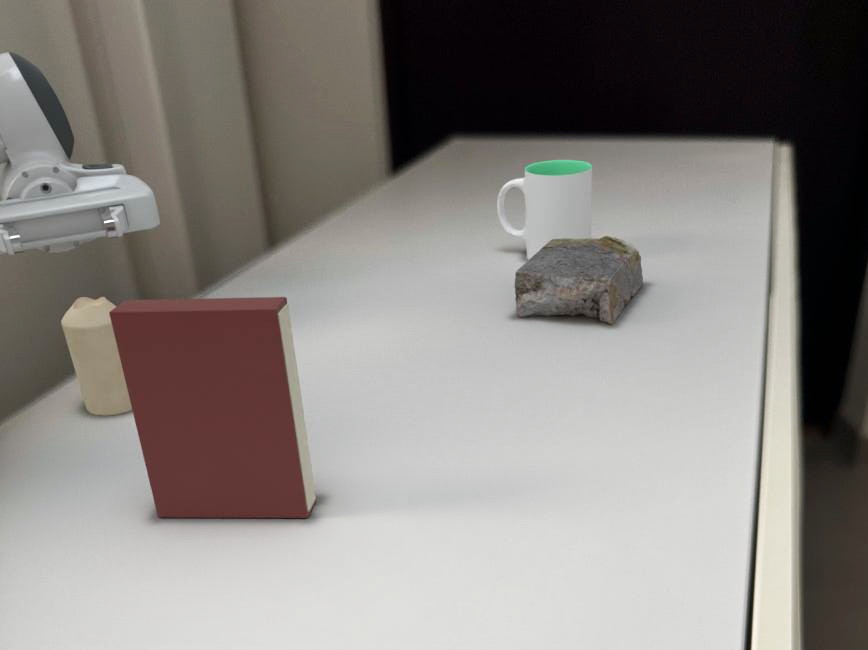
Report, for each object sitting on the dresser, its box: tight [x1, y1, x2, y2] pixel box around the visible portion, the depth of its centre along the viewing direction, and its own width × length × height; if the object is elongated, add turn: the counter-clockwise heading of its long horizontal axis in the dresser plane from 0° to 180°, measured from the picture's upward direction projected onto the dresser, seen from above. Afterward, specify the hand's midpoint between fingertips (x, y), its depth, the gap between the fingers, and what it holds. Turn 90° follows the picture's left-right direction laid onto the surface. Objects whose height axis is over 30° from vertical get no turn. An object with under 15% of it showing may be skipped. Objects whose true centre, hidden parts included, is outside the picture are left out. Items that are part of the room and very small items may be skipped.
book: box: [109, 296, 317, 519], centre depth 78 cm, size 12×3×16 cm, turn 85°
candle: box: [60, 296, 133, 416], centre depth 98 cm, size 6×6×10 cm
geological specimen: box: [514, 235, 644, 325], centre depth 116 cm, size 11×6×15 cm
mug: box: [496, 159, 593, 261], centre depth 130 cm, size 12×8×10 cm, turn 71°
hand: (64, 237), depth 103 cm, fingers open, 8 cm apart
